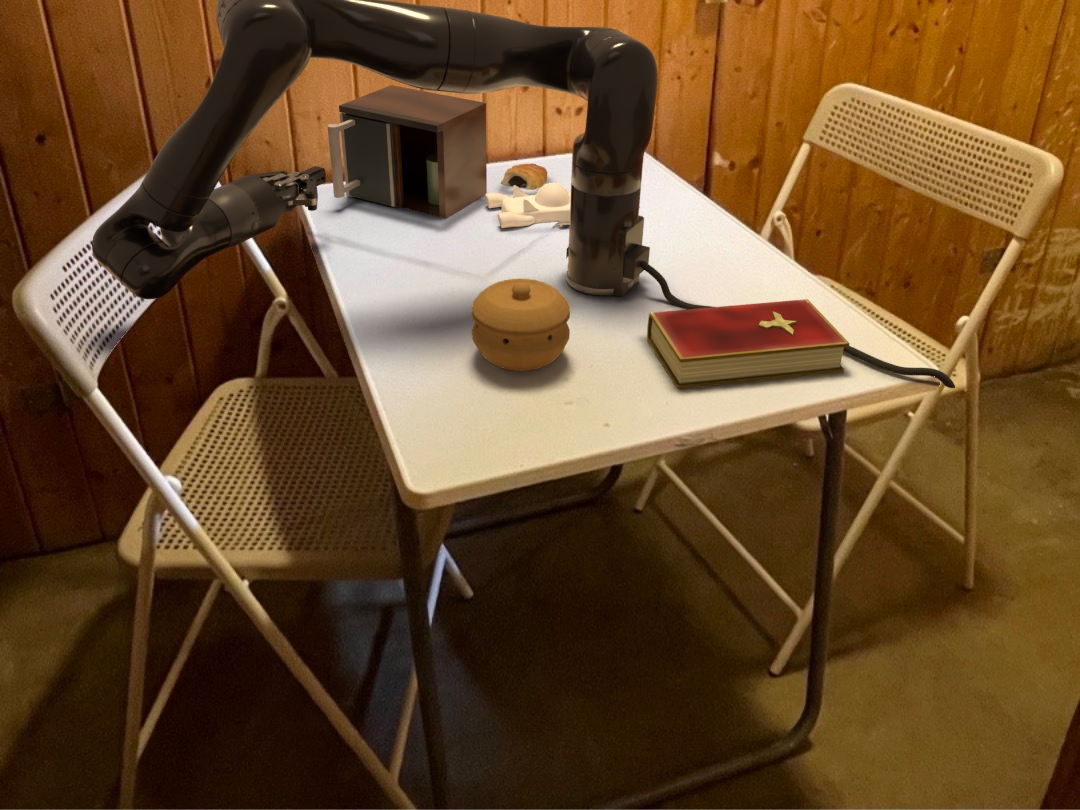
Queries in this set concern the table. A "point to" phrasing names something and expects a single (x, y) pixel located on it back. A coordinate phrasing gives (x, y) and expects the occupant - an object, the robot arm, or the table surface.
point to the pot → (520, 324)
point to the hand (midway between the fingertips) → (321, 173)
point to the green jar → (432, 179)
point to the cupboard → (431, 145)
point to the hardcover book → (745, 343)
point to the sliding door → (363, 159)
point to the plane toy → (532, 206)
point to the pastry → (525, 176)
